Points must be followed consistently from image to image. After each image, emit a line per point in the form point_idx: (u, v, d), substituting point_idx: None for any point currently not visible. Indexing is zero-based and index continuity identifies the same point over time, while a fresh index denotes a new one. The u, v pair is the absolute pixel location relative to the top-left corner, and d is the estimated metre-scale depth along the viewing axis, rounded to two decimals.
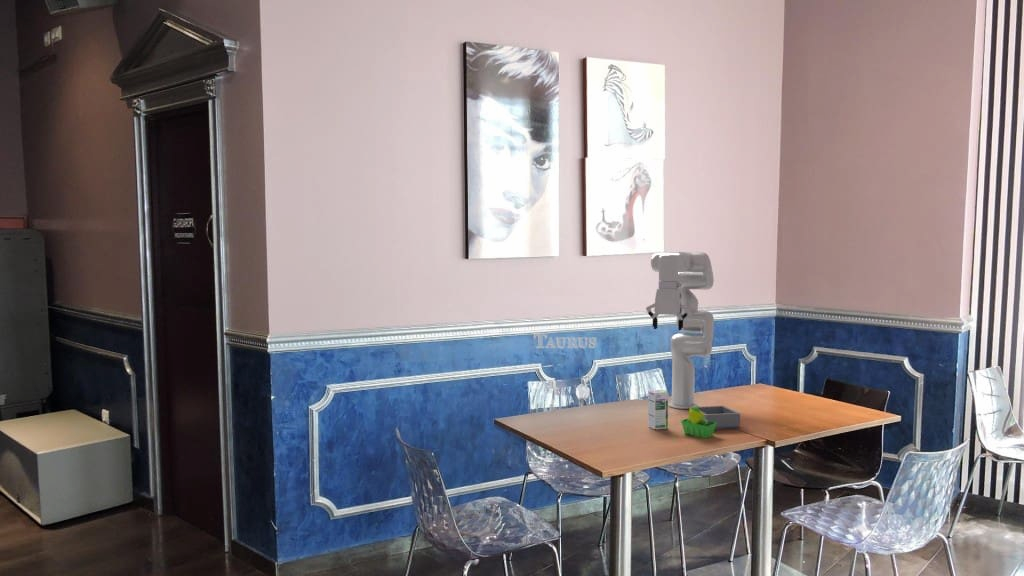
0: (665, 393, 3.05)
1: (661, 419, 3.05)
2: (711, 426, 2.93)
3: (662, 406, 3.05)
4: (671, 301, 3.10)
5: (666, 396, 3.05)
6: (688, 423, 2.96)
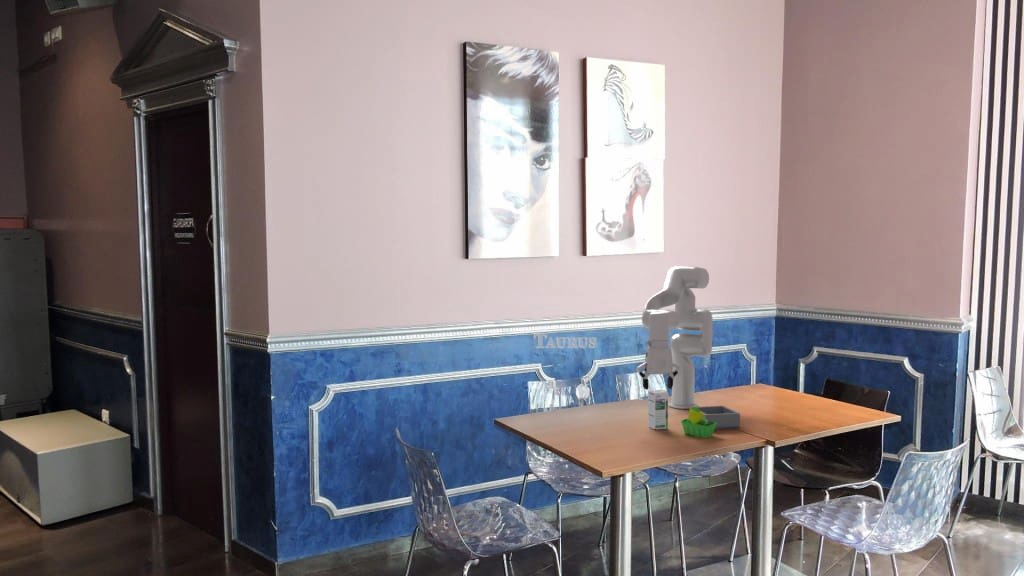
0: (665, 393, 3.05)
1: (661, 419, 3.05)
2: (711, 426, 2.93)
3: (662, 406, 3.05)
4: None
5: (666, 396, 3.05)
6: (688, 423, 2.96)
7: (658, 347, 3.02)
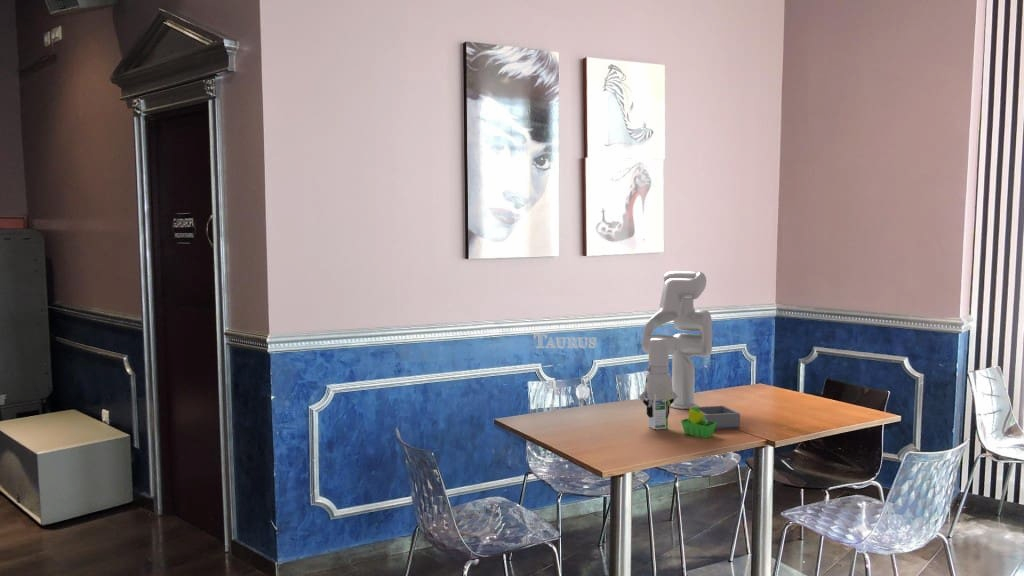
0: None
1: (661, 419, 3.05)
2: (711, 426, 2.93)
3: (662, 406, 3.05)
4: None
5: None
6: (688, 423, 2.96)
7: (658, 373, 3.03)
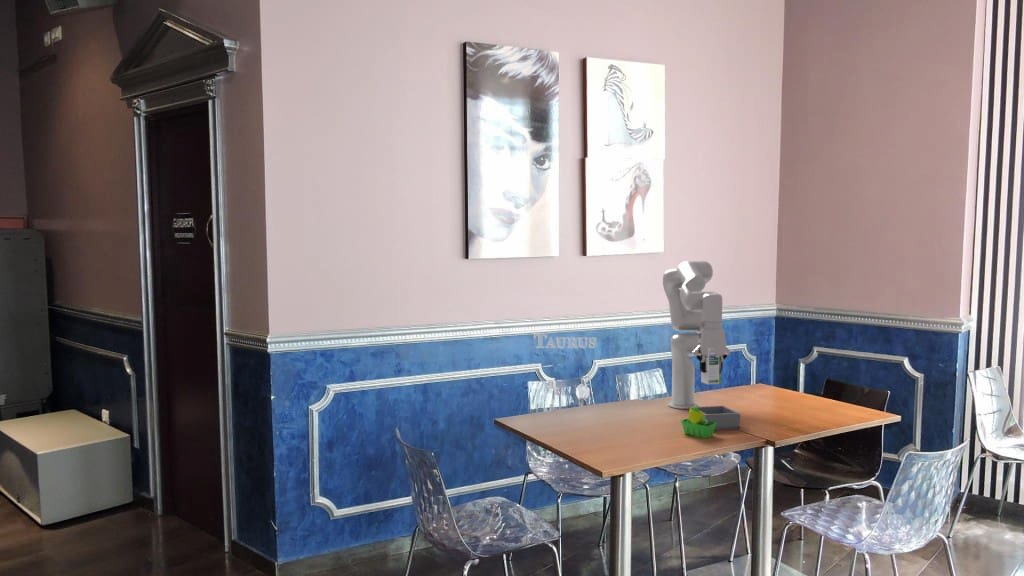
0: None
1: (714, 374, 3.07)
2: (711, 426, 2.93)
3: (715, 361, 3.07)
4: None
5: None
6: (688, 423, 2.96)
7: (712, 328, 3.05)
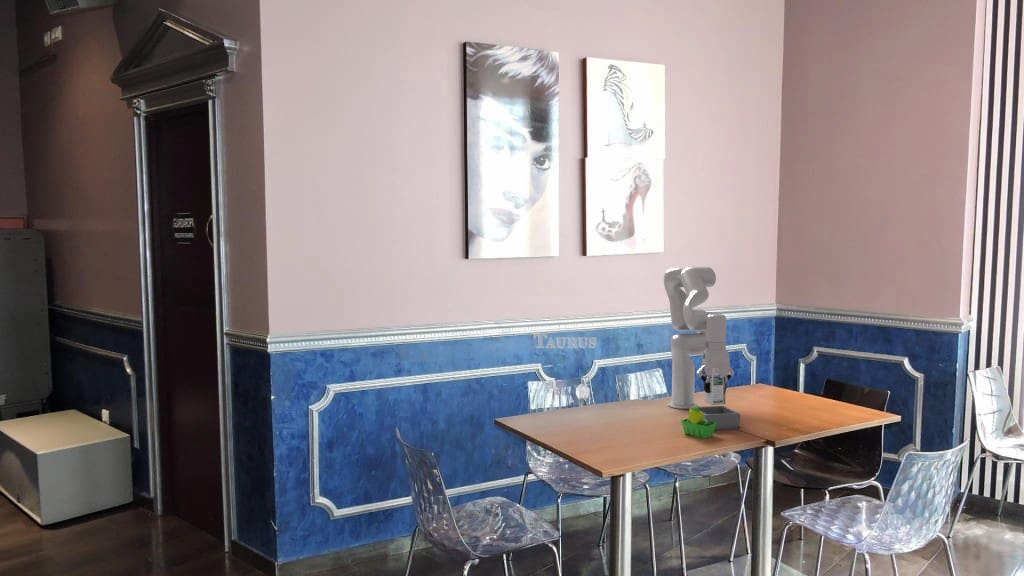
0: None
1: (719, 394, 3.08)
2: (711, 426, 2.93)
3: (719, 382, 3.07)
4: None
5: None
6: (688, 423, 2.96)
7: (716, 349, 3.06)
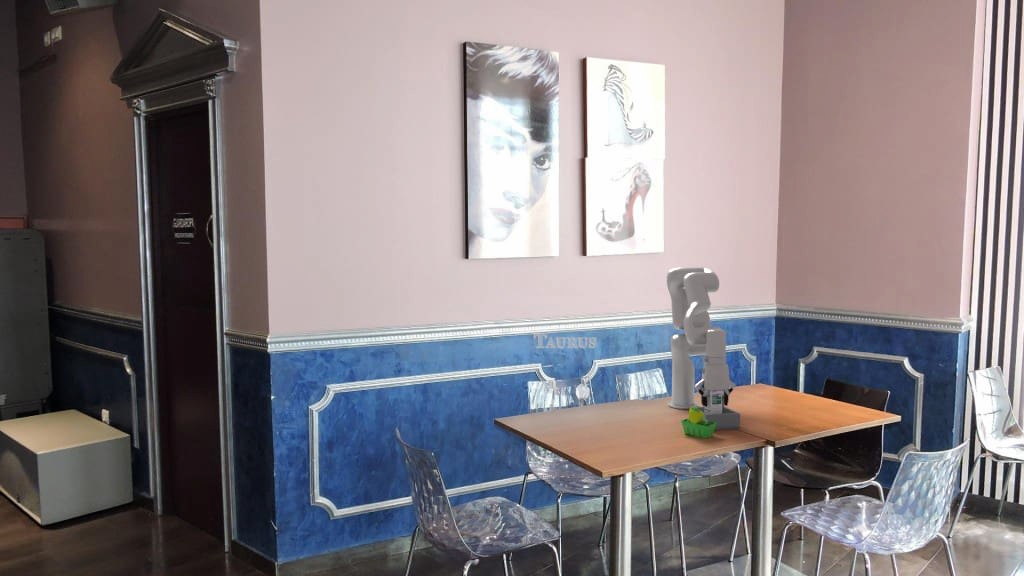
0: None
1: (717, 413, 3.09)
2: (711, 426, 2.93)
3: (718, 401, 3.09)
4: None
5: (722, 391, 3.09)
6: (688, 423, 2.96)
7: (716, 364, 3.06)
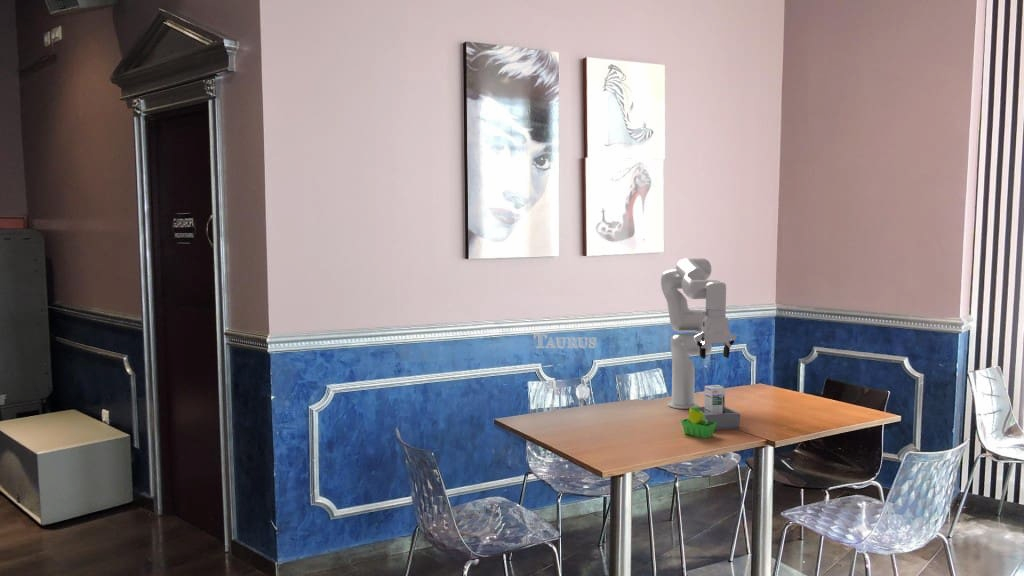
0: (721, 388, 3.08)
1: None
2: (711, 426, 2.93)
3: (718, 402, 3.08)
4: None
5: (723, 391, 3.09)
6: (688, 423, 2.96)
7: (716, 317, 3.06)
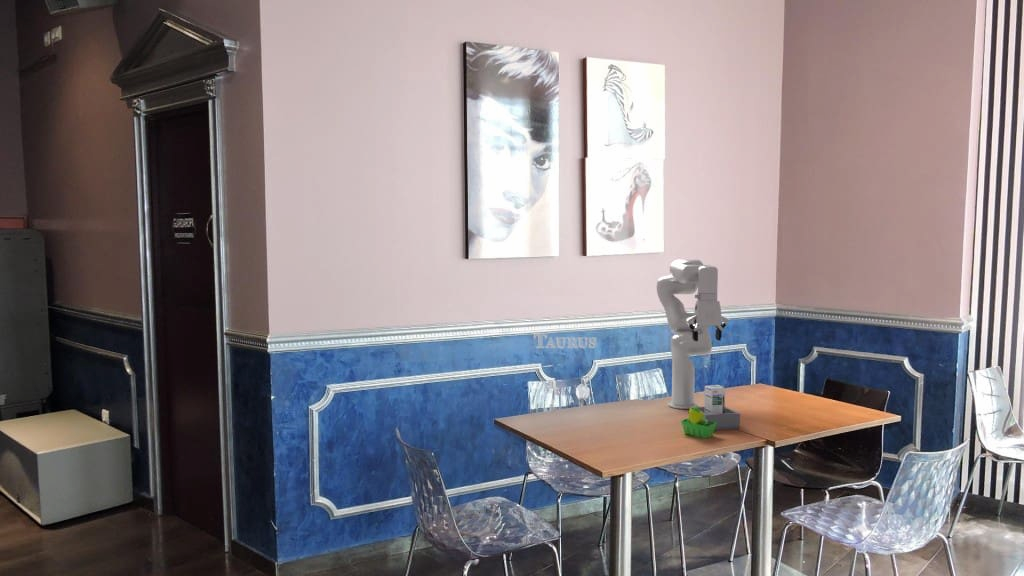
0: (721, 388, 3.08)
1: None
2: (711, 426, 2.93)
3: (718, 402, 3.08)
4: None
5: (723, 391, 3.09)
6: (688, 423, 2.96)
7: (707, 300, 3.12)
